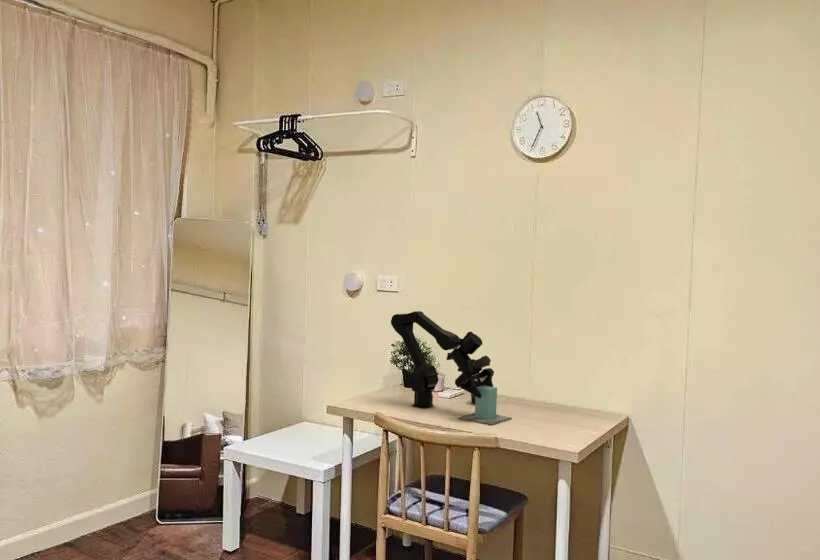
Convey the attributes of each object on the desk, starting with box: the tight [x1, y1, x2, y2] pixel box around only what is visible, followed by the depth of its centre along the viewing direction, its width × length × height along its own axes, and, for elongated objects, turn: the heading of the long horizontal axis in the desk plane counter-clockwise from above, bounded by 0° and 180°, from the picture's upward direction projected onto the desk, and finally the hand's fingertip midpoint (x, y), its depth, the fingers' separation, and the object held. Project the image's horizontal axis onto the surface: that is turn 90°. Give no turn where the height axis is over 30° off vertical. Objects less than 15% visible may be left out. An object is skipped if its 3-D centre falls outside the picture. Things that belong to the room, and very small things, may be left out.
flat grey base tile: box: [458, 412, 513, 426], centre depth 245 cm, size 14×14×5 cm
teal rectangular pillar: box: [474, 386, 498, 420], centre depth 244 cm, size 6×6×11 cm
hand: (487, 395), depth 244 cm, fingers open, 9 cm apart
